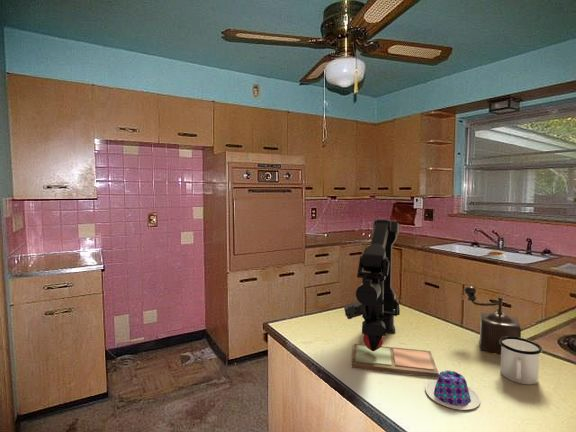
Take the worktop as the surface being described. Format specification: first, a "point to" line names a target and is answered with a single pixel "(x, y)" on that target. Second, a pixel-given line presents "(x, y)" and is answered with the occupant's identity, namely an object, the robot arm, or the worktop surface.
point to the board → (395, 360)
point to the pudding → (452, 391)
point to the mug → (520, 359)
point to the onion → (367, 342)
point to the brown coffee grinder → (494, 324)
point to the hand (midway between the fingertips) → (373, 345)
